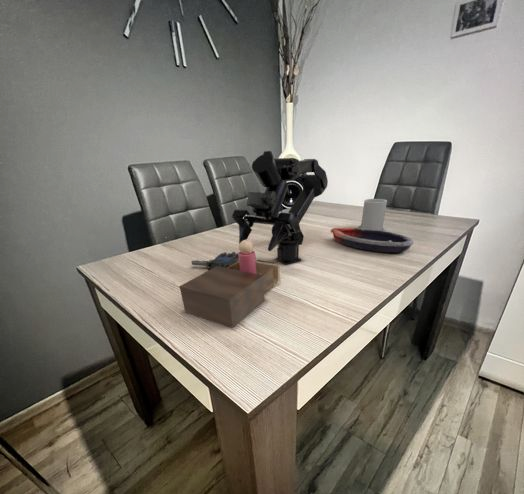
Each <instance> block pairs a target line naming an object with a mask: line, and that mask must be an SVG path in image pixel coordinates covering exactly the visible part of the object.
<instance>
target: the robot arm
mask: <svg viewBox="0 0 524 494" xmlns="http://www.w3.org/2000/svg"><path fill="white" fill-rule="evenodd" d="M251 169H252V171H253V173H254V175H255V177H256V178H257V180H258V181H259V182H260V185H261V186H262V187H263V188H265V190H264V192H260V191H259V192H258V191H257V192H255V191H249V192H248V193H247V199H246V206H247V207H251V208H252V212H253V213H254V214H253V215H252V214H250V212H249V211H248V210H247V209H238V208H237V209H234V210H233V213H232V214H231V218H232V219H233V220H234V221H235V222H236V224H237V225H238V231H239V232H238V245H239V244H240V243H241V242H242V241H243V240H248V238H249V236H250V234H251V232H252V231H253V230H252V227H254V224H261V225H263V224H264V225H268V226H269V225H271V226H272V227H271V235H272V236H271V238H270V241H269V243H268V247H267V251H268V252H272V250H274V249H275V248H276V247H277V248H276V257H275V260H276V261H278V262H280V263H282V264H284V265H290V264H293V263H298V262H301V261H302V259H301V258H300V256H299V254H300V250H299V249H300V246H302V245H303V243H304V233H303V232H302V230H301V227H300V226H301V225H300V223H301V221H302V220H303V218H304V216H305V214H306V213H307V211H308V210H309V208H310V206H311V204H312V203H313V201H314V199H315V198H317V197H319V196H321V195H322V194H323V193H324V192H325V191H326V189H327V187H328V183H329V181H328V175H327V172H326V170H325V169H324V168H323V167H321V166H320V164H319V161H318V159H316V158H304V159H301V160H299V159H298V158H295V157H284V158H283V157H282V158H275V157H274V155H273V152H272V151H271V150H264V151H263V153H262V154H261V155H259V156H258V157H256V159H255V160H253V161H252V164H251ZM309 173H313V174H309ZM300 175H301V176H300ZM299 177H300V179H299V180H300V183H301V185H302V186H301V187H302V190H301V192H300V194H299V195H298V196H297V198H296V199H295V201H294V203H293V205H292V206H291V208H290V209H289V210H288V211H289V212H288V213H282V212H281V213H279V211H284V208H283V206H282V205H283V203H284V200H285V197H286V196H288V195H289V196H290V195H291V194H290V189H289V185H288V183H287V181H295V180H296V179H298V178H299ZM278 214H279V215H278ZM277 216H278V218H277Z"/></svg>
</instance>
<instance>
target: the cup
mask: <svg viewBox="0 0 524 494" xmlns="http://www.w3.org/2000/svg"><path fill="white" fill-rule="evenodd" d="M387 205H388V200H387V199H383V198H367V199H364V201H363V208H362V216H361V223H360V228H364V229H373V230H380V231H383V228H384V223H385V216H386V210H387Z"/></svg>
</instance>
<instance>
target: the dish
mask: <svg viewBox="0 0 524 494" xmlns="http://www.w3.org/2000/svg"><path fill="white" fill-rule="evenodd" d="M330 233H332V235H333V238H334V239H335V241H337V242H338V243H341V244H343V245H345V246H347V247H350V248H355V249H359V250H366V251H370V252H378V253H403V252H406V251H407V250H409V249H410V248H411V246H413V244H414V240H413V238H411V237H409V236H406V235H403V234H400V233H395V232H391V231H386V230H373V229H364V228H361V227H334V228H331V229H330Z"/></svg>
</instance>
